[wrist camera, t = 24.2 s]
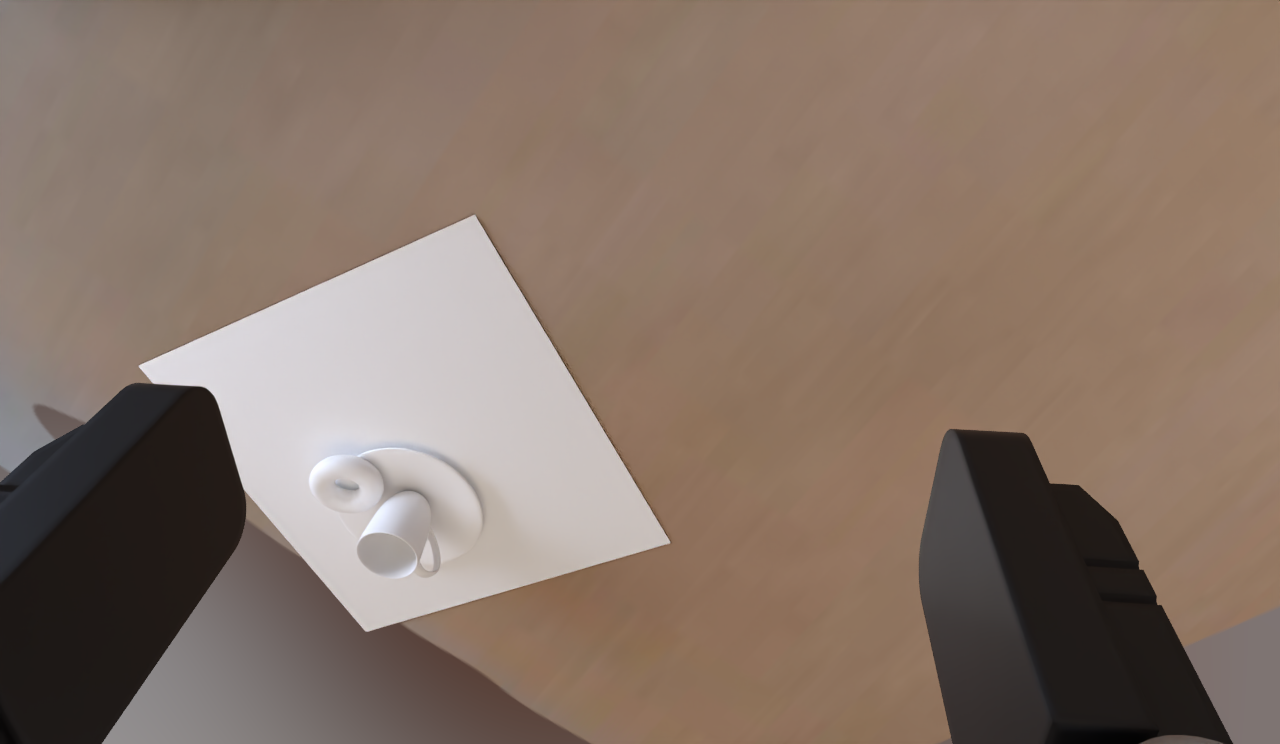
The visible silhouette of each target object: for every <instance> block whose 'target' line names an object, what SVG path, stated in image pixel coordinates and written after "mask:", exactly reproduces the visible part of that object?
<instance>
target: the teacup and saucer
mask: <svg viewBox="0 0 1280 744" xmlns="http://www.w3.org/2000/svg"><path fill="white" fill-rule="evenodd" d="M308 484H309V489H310V491H311V494H312V495H313V497H314V498H315V499H316V500H317V501H318V502H319V503H320V504H321V505H323V506H324V507H326V508H327V509H329V510H332V511H334V512H337V515H338V517H339V519H340V520H341V522H342V524H343V525H344V527H345V528H346V529H347V530H348V532H349V533H350V534H351V535H352V536H353V537H354V538H355V539H356V540H357V542H356V545H355V554H356V557H357V559H358V561H359V563H360V564H361V565H362V566H363V567H364V568H365V569H366V570H367V571H369V572H370V573H372V574H373V575H375V576H377V577H380V578H383V579H388V580H401V579H405V578H407V577H409V576H411V575H412V574H413V573H415V574H416V575H417V576H418V577H419V578H422V579H429V578H431V577H433V576H435V575H436V574H437V573H438V572H439V571H440V569H441V565H443V564H447V563H450V562H453V561H455V560H457V559H459V558H461V557H462V556H464V555H465V554H467V553H468V552H469V551H470V550H471V549H472V548H473V547H474V546H475V545H476V543H477V542H478V540H479V538H480V536H481V534H482V531H483V526H484V512H483V507H482V504H481V501H480V499H479V497H478V495H477V493H476V491H475V490H474V488H473V487H472V485H471V484H470V483H469V482H468V480H467V479H466V478H465V477H464V476H463V475H462V474H461V473H460V472H458V471H457V470H456V469H455V468H453V467H452V466H451V465H449V464H448V463H446V462H445V461H443V460H441V459H439V458H437V457H435V456H433V455H431V454H428V453H425V452H423V451H419V450H415V449H411V448H405V447H380V448H374V449H370V450H367V451H364V452H362V453H360V454H358V455H353V454H335V455H331V456H328V457H326V458H324V459H322V460H321V461H319V462H318V463H317V464H316V465H315V466H314V467H313V469H312V470H311V472H310V474H309V479H308ZM424 566H432V570H427V569H425V568H424Z"/></svg>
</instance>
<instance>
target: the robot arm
mask: <svg viewBox="0 0 1280 744" xmlns="http://www.w3.org/2000/svg"><path fill="white" fill-rule="evenodd" d="M245 519H246V499H245V493H244V490H243V486H242V483H241V479H240V476H239V473H238V469H237V466H236V463H235V459H234V456H233V453H232V449H231V446H230V443H229V439H228V436H227V433H226V429H225V426H224V423H223V419H222V416H221V413H220V409H219V406H218V403H217V401H216V399H215V397H214V395H213V394H212V393H211V392H210V391H209V390H208V389H206V388H204V387H201V386H184V385H165V384H147V383H134V384H131V385H128V386H126V387H125V388H124V389H123V390H121V391H120V392H119V393H118V394H117V395H116V396H115V397H114V398H113V399H112V400H111V401H109V402H108V403H107V404H106V405H105V406H104V407H103V408H102V409H101V410H100V411H99V412H98V413H97V414H96V415H95V416H93V417H92V418H91V419H90V420H89V421H88V422H87V423H86V424H85V425H81V426H80V427H78V428H76V429H74V430H72V431H70V432H69V433H67V434H65V435H63V436H62V437H60V438H58V439H56V440H54V441H52V442H51V443H49V444H47V445H45V446H43V447H42V448H40V449H38V450H36V451H35V452H33V453H32V454H31V455H30V456H29V457H28V458H27V459H26V460H24V461H23V462H22V463H21V464H20V465H19V466H18V467H17V468H16V469H15V470H13V471H12V472H11V473H10V474H9V475H8V476H7V477H6V478H5V479H4V480H2V481H1V482H0V744H102V742H103V741H104V739H105V738H106V736H107V735H108V733H109V732H110V730H111V729H112V728H113V726H114V725H115V723H116V722H117V721H118V719H119V718H120V716H121V715H122V713H123V711H124V710H125V709H126V707H127V706H128V705H129V703H130V702H131V700H132V699H133V697H134V696H135V694H136V693H137V691H138V690H139V689H140V687H141V686H142V684H143V683H144V681H145V680H146V678H147V677H148V675H149V674H150V673H151V671H152V670H153V668H154V667H155V665H156V664H157V662H158V661H159V659H160V658H161V657H162V655H163V654H164V652H165V651H166V649H167V648H168V646H169V645H170V644H171V642H172V641H173V639H174V638H175V636H176V635H177V633H178V632H179V630H180V629H181V627H182V626H183V624H184V623H185V622H186V620H187V619H188V617H189V616H190V614H191V613H192V612H193V610H194V609H195V607H196V606H197V604H198V603H199V601H200V600H201V598H202V597H203V595H204V594H205V593H206V591H207V590H208V588H209V587H210V585H211V584H212V583H213V581H214V580H215V578H216V577H217V575H218V574H219V572H220V571H221V569H222V568H223V566H224V565H225V564H226V562H227V560H228V559H229V558H230V556H231V555H232V553H233V552H234V550H235V549H236V547H237V545H238V543H239V541H240V538H241V536H242V533H243V529H244V525H245ZM919 585H920V595H921V600H922V605H923V610H924V615H925V619H926V624H927V628H928V633H929V637H930V642H931V647H932V651H933V656H934V660H935V665H936V670H937V674H938V679H939V683H940V688H941V693H942V697H943V702H944V706H945V711H946V715H947V720H948V725H949V729H950V734H951V738H952V743H953V744H1233V743H1232V741H1231V739H1230V737H1229V735H1228V733H1227V731H1226V729H1225V728H1224V725H1223V724H1222V722H1221V720H1220V718H1219V716H1218V714H1217V712H1216V710H1215V708H1214V706H1213V704H1212V702H1211V700H1210V698H1209V696H1208V695H1207V693H1206V691H1205V689H1204V687H1203V685H1202V683H1201V681H1200V679H1199V677H1198V675H1197V673H1196V671H1195V669H1194V667H1193V665H1192V664H1191V661H1190V660H1189V658H1188V656H1187V654H1186V652H1185V650H1184V648H1183V646H1182V644H1181V642H1180V640H1179V638H1178V636H1177V634H1176V632H1175V630H1174V629H1173V627H1172V625H1171V623H1170V621H1169V619H1168V617H1167V615H1166V613H1165V611H1164V609H1163V607H1162V605H1157V602H1156V598H1157V596H1156V594H1155V592H1154V590H1153V588H1152V586H1151V584H1150V582H1149V580H1148V578H1147V576H1146V574H1145V572H1144V570H1139V561H1138V559H1137V557H1136V555H1135V553H1134V551H1133V549H1132V547H1131V545H1130V543H1129V541H1128V539H1127V537H1126V536H1125V534H1124V532H1123V530H1122V528H1121V526H1120V524H1119V522H1118V521H1117V520H1116V519H1115V518H1114V517H1113V516H1112V515H1111V514H1110V513H1109V512H1108V511H1106V510H1105V509H1104V508H1103V507H1102V506H1101V505H1100V504H1099V503H1098V502H1097V501H1095V500H1094V499H1093V498H1092V497H1091V496H1090V495H1089V494H1088V493H1087V492H1086V491H1084V490H1083V489H1082V488H1081V487H1080V486H1079V485H1067V484H1050V483H1049V481H1048V478H1047V476H1046V474H1045V472H1044V469H1043V467H1042V465H1041V463H1040V460H1039V458H1038V456H1037V454H1036V451H1035V449H1034V447H1033V445H1032V442H1031V441H1030V439H1029V437H1028V436H1027V435H1026V434H1024V433H1014V432H995V431H977V430H959V429H950V430H948V431H947V432H946V434H945V436H944V438H943V441H942V445H941V449H940V453H939V458H938V463H937V467H936V472H935V477H934V482H933V486H932V491H931V496H930V500H929V505H928V510H927V514H926V519H925V524H924V529H923V533H922V538H921V544H920V553H919Z"/></svg>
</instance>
